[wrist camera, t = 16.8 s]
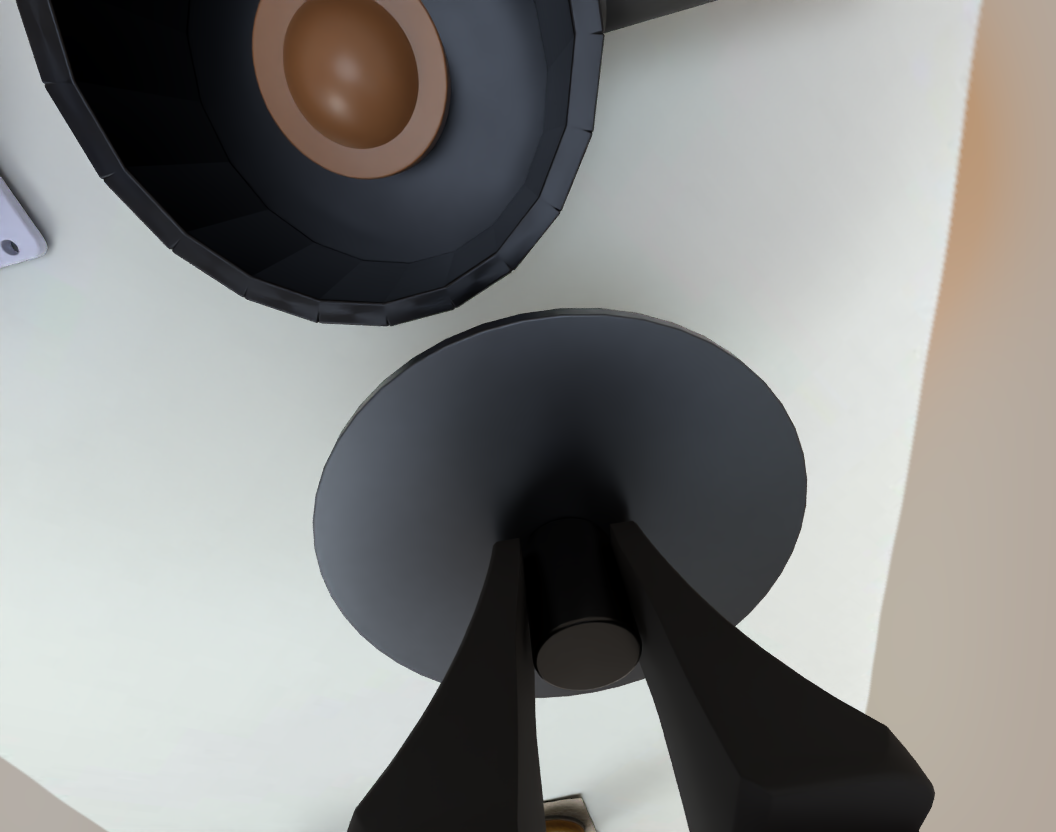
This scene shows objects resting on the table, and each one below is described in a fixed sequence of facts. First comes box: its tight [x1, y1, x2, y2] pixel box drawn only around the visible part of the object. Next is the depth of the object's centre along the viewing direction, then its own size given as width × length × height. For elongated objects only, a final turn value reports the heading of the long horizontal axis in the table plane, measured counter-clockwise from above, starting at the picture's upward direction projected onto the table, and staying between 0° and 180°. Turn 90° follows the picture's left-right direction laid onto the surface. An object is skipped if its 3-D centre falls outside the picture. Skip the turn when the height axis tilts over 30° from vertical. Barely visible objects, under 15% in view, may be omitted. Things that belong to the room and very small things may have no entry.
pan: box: [16, 0, 604, 326], centre depth 14 cm, size 12×12×6 cm
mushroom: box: [252, 0, 451, 179], centre depth 14 cm, size 5×5×5 cm
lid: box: [313, 308, 807, 698], centre depth 12 cm, size 13×13×4 cm
